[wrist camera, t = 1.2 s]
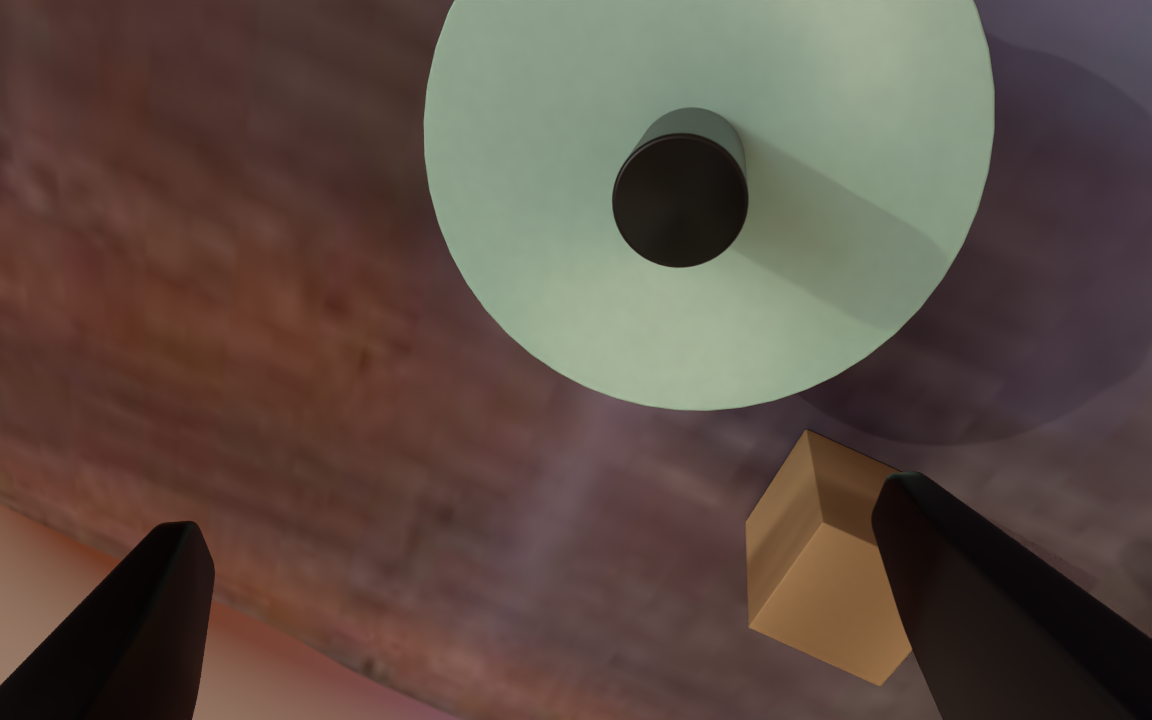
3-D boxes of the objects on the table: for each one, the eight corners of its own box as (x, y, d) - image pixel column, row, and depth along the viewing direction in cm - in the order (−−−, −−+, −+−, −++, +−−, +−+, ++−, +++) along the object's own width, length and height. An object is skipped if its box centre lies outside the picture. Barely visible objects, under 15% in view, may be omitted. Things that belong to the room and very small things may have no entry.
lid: (1111, -8, 15) (1272, -15, 11) (800, 463, 21) (820, 591, 16) (543, -265, 15) (464, -382, 11) (382, 275, 21) (284, 349, 16)
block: (923, 481, 27) (967, 587, 22) (854, 571, 29) (880, 687, 24) (805, 428, 27) (822, 522, 22) (744, 522, 29) (748, 627, 24)
